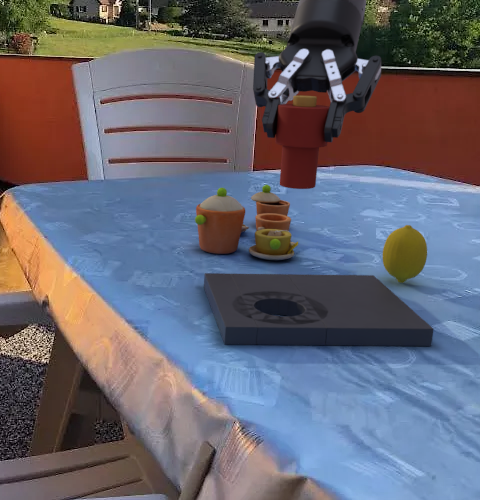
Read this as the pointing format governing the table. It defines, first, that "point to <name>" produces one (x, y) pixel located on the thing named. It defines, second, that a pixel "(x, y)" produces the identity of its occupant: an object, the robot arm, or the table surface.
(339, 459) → the table surface
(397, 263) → the lemon
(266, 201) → the toy tea set
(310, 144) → the stopper
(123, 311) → the table surface
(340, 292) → the grey board with hole
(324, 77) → the robot arm
